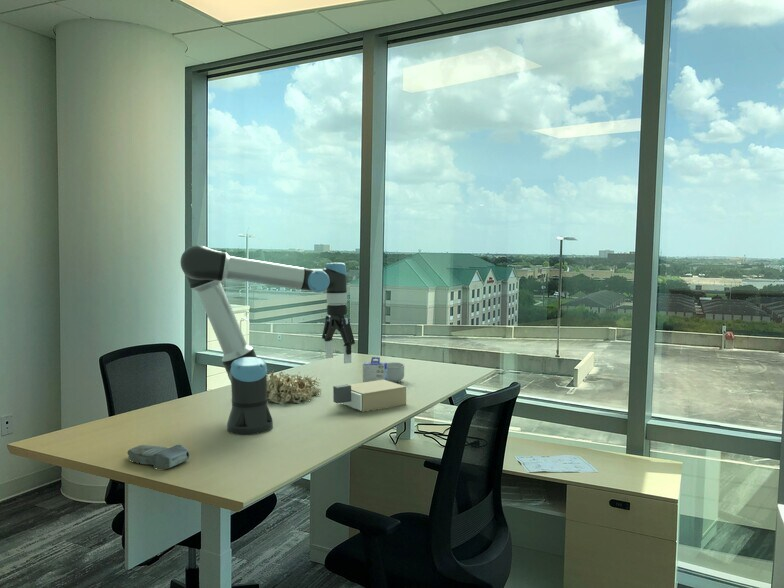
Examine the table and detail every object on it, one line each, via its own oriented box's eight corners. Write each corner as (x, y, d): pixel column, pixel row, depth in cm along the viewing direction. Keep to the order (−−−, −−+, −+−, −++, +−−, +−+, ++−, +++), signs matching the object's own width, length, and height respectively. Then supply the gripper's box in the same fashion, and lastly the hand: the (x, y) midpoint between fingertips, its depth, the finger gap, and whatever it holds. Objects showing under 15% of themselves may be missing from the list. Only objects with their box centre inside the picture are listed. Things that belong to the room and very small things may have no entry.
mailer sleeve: (362, 412, 226) (362, 393, 226) (341, 403, 239) (341, 385, 239) (406, 404, 238) (406, 386, 237) (383, 396, 251) (383, 379, 250)
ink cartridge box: (388, 390, 261) (387, 357, 260) (385, 393, 255) (385, 359, 254) (365, 389, 263) (365, 356, 262) (362, 392, 257) (362, 358, 256)
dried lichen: (299, 408, 233) (299, 379, 233) (232, 402, 243) (231, 374, 242) (329, 392, 258) (328, 366, 258) (267, 388, 268) (266, 362, 267)
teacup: (409, 382, 277) (409, 365, 276) (389, 385, 271) (389, 367, 270) (391, 377, 288) (391, 360, 288) (372, 380, 282) (372, 363, 282)
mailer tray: (346, 413, 222) (346, 390, 222) (325, 404, 235) (325, 383, 234) (404, 402, 237) (404, 381, 236) (381, 394, 250) (381, 374, 249)
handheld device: (141, 452, 183) (140, 437, 183) (193, 462, 175) (192, 446, 175) (114, 462, 174) (114, 446, 174) (168, 473, 166) (168, 456, 166)
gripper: (363, 305, 219) (364, 364, 220) (329, 301, 239) (330, 354, 241) (345, 307, 214) (346, 366, 216) (312, 302, 235) (313, 357, 236)
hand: (338, 360), depth 228 cm, fingers open, 13 cm apart
